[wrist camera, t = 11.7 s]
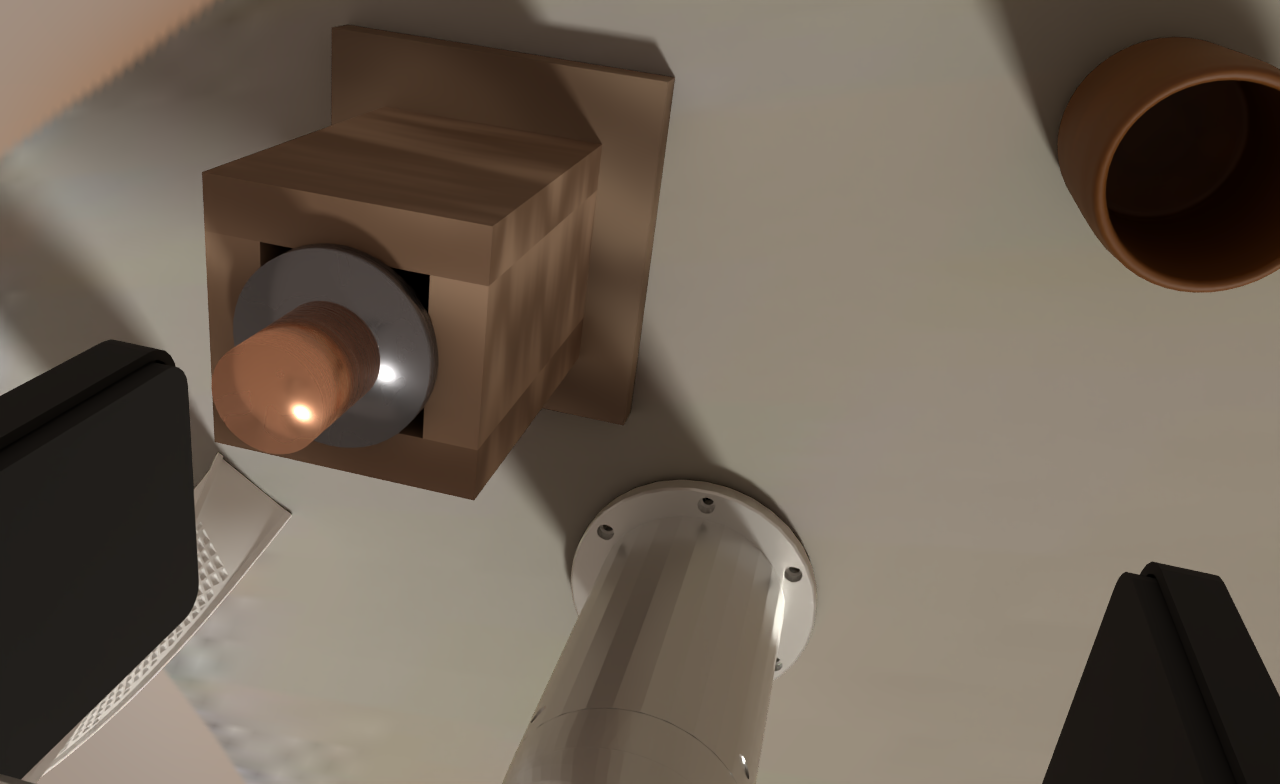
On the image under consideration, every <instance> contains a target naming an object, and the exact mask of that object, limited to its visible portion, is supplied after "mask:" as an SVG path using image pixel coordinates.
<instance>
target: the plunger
mask: <svg viewBox="0 0 1280 784" xmlns="http://www.w3.org/2000/svg"><path fill="white" fill-rule="evenodd" d="M429 286H430V275H428V274H423V273H417V272H412V271H406V272H405V273H404V274H402V275H401V276H399V275H398V274H397V273H396V272H395V271H394V270H393V269H392V268H390V267H389V266H387V265H386V264H384V263H383V262H382V261H380V260H378V259H377V258H375V257H373V256H371V255H369V254H367V253H365V252H362V251H360V250H357V249H355V248H351V247H347V246H343V245H338V244H330V243H317V244H309V245H303V246H300V247H297V248H294V249H291V250H289V251H287V252H285V253H283V254H281V255H279V256H277V257H276V258H274V259H272V260H270V261H268V262H267V263H266V264H264V265H263V266H261V267H260V268H259V269H258V270H257V271H256V272H255V273H254V274H253V275H252V276H251V277H250V278H249V280H248V281H247V283H246V284H245V285H244V287H243V289H242V291H241V293H240V295H239V298H238V301H237V304H236V307H235V313H234V319H233V338H234V346H235V347H234V348H232V349H231V350H229V351H228V352H227V353H225V354H224V355H223V356H222V357H221V359H220V360H219V361H218V363H217V365H216V367H215V369H214V373H213V377H212V395H213V400H214V403H215V406H216V409H217V411H218V413H219V415H220V417H221V419H222V420H223V422H224V423H225V424H226V426H227V427H228V428H229V430H230V431H231V432H232V433H233V434H234V435H235V436H237V437H238V438H239V439H240V440H241V441H243V442H244V443H246V444H247V445H249V446H251V447H253V448H255V449H257V450H260V451H263V452H266V453H271V454H290V453H294V452H297V451H299V450H301V449H303V448H305V447H306V446H307V445H309V444H310V443H311V442H312V441H313V440H314V441H316V442H319V443H322V444H326V445H330V446H336V447H344V448H357V447H366V446H371V445H375V444H378V443H381V442H383V441H386V440H388V439H390V438H391V437H393V436H395V435H396V434H398V433H399V432H400V431H401V430H403V429H404V428H405V427H406V426H407V425H408V424H409V423H410V422H411V421H412V420H413V419H414V418H415V417H416V416H417V415H418V414H419V413H420V411H421V410H422V409H423V408H424V406H425V405H426V403H427V401H428V400H429V398H430V396H431V393H432V391H433V389H434V386H435V382H436V378H437V372H438V347H437V341H436V336H435V333H434V329H433V325H432V323H431V321H430V318H429V316H428V313H427V311H426V310H425V308H424V306H423V305H424V304H425V303H426V302H427V301H429Z"/></svg>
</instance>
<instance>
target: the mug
mask: <svg viewBox="0 0 1280 784" xmlns="http://www.w3.org/2000/svg"><path fill="white" fill-rule="evenodd" d="M1057 150H1058V161H1059V165H1060V170H1061V174H1062V176H1063V179H1064V182H1065V184H1066V186H1067V188H1068V190H1069V192H1070V194H1071V195H1072V197H1073V199H1074V201H1075V202H1076V204H1077V206H1078V208H1079V209H1080V211H1081V213H1082V215H1083V216H1084V218H1085V219H1086V221H1087V223H1088V224H1089V226H1090V228H1091V229H1092V231H1093V232H1094V234H1095V235H1096V237H1097V238H1098V239H1099V240H1100V242H1101V243H1102V244H1103V246H1104V247H1105V248H1106V249H1107V250H1108V251H1109V252H1110V253H1111V254H1112V255H1113V256H1114V257H1115V258H1117V259H1118V260H1119V261H1120V262H1121V263H1122V264H1123V265H1124V266H1125V267H1126V268H1128V269H1129V270H1130V271H1132V272H1133V273H1135V274H1136V275H1137V276H1139V277H1141V278H1143V279H1145V280H1147V281H1149V282H1151V283H1153V284H1156V285H1159V286H1162V287H1164V288H1169V289H1173V290H1178V291H1185V292H1215V291H1223V290H1229V289H1233V288H1237V287H1241V286H1244V285H1247V284H1249V283H1252V282H1255V281H1258V280H1260V279H1262V278H1264V277H1266V276H1268V275H1270V274H1272V273H1273V272H1275V271H1277V270H1278V269H1280V69H1278V68H1276V67H1274V66H1272V65H1270V64H1268V63H1266V62H1263V61H1261V60H1258V59H1256V58H1253V57H1250V56H1248V55H1245V54H1243V53H1240V52H1237V51H1234V50H1231V49H1228V48H1225V47H1222V46H1220V45H1217V44H1214V43H1211V42H1208V41H1204V40H1199V39H1194V38H1184V37H1167V38H1158V39H1153V40H1148V41H1144V42H1141V43H1138V44H1135V45H1132V46H1130V47H1128V48H1126V49H1123V50H1121V51H1119V52H1118V53H1116V54H1114V55H1113V56H1111V57H1109V58H1108V59H1106V60H1105V61H1104V62H1102V63H1101V64H1100V65H1099V66H1097V67H1096V68H1095V69H1094V70H1093V71H1092V72H1091V73H1090V74H1089V75H1088V76H1087V77H1086V78H1085V79H1084V80H1083V82H1082V83H1081V84H1080V85H1079V86H1078V88H1077V89H1076V91H1075V92H1074V94H1073V96H1072V97H1071V99H1070V101H1069V103H1068V105H1067V107H1066V109H1065V111H1064V114H1063V117H1062V120H1061V123H1060V128H1059V133H1058V145H1057Z"/></svg>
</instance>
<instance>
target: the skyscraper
mask: <svg viewBox="0 0 1280 784" xmlns="http://www.w3.org/2000/svg"><path fill="white" fill-rule="evenodd" d="M194 504H195V522H196V539H197V557H198V574H199V590H198V594H197V598H196V601H195V604H194V606H193V608H192V610H191V612H190V613H189V615H188V616H187V617H186V618H185V620H184V621H183V622H182V623H181V624H180V625H179V626H178V627H177V628H176V629H175V630H174V631H173V632H172V633H170V634H169V635H168V636H167V637H166V638H165V639H164V640H163V641H162V642H161V643H160V644H159V645H158V646H157V647H156V648H155V649H154V650H153V651H152V652H151V653H150V654H149V655H148V656H147V657H146V658H145V659H144V660H143V661H142V662H141V663H140V664H139V665H138V666H137V667H136V668H135V669H134V670H133V671H132V672H131V673H130V674H128V675H127V676H126V677H125V678H124V679H123V680H122V681H121V682H120V683H119V684H118V685H117V686H116V687H115V688H114V689H113V690H112V691H111V692H110V693H109V694H108V695H107V696H106V697H105V698H104V699H103V700H102V701H101V702H100V703H99V704H98V705H97V706H96V707H95V708H94V709H93V710H92V711H91V712H90V713H89V714H88V715H86V716H85V717H84V718H83V719H82V720H81V721H80V722H79V723H78V724H77V725H76V726H75V727H74V728H73V729H72V730H71V731H70V732H69V733H68V734H67V735H66V736H65V737H64V738H63V739H62V740H61V741H60V742H59V743H58V744H57V745H56V746H55V747H54V748H53V749H52V750H51V751H50V752H49V753H48V754H47V755H46V756H45V757H43V758H42V759H41V760H40V761H39V762H38V763H37V764H36V765H35V766H34V767H33V768H32V769H31V770H30V771H29V772H28V773H27V774H26V775H25V776H24V777H23V778H22V779H21V780H24V781H27V782H31V783H35V784H36V783H37V782H38V781H39V779H40V778H41V777H42V776H43V775H44V774H46V773H47V772H48V771H50V770H51V769H52V768H53V767H55V766H56V765H57V764H59V763H60V762H61V761H62V760H64V759H65V758H66V757H68V756H69V755H70V754H71V753H72V752H74V751H75V750H76V749H77V748H78V747H80V746H81V745H82V744H83V743H84V742H85V741H87V740H88V739H89V738H90V737H91V736H93V735H94V734H95V733H96V732H97V731H98V730H100V729H101V728H102V727H103V726H104V725H105V724H106V723H107V722H108V721H109V720H110V719H111V718H112V717H113V716H115V715H116V714H117V713H118V712H119V711H120V710H121V709H122V708H123V707H124V706H125V705H127V704H128V703H129V702H130V701H131V700H132V699H133V698H134V697H135V696H136V695H137V694H138V693H139V692H140V691H141V690H142V689H143V688H144V687H145V686H146V685H147V684H148V683H149V682H150V681H151V680H152V679H153V678H154V677H155V676H156V675H157V674H158V673H159V672H160V671H161V670H162V669H163V667H164V666H165V665H166V664H167V663H168V662H169V661H170V660H171V659H172V658H173V657H174V656H175V655H176V654H177V653H178V652H179V650H180V649H181V648H182V647H183V646H184V645H185V644H186V643H187V642H188V641H189V639H190V638H191V637H192V636H193V635H194V634H195V633H196V632H197V630H198V629H199V628H200V627H201V626H202V625H203V624H204V622H205V621H206V620H207V619H208V618H209V617H210V616H211V615H212V613H213V612H214V611H215V610H216V609H217V607H218V606H219V605H220V604H221V603H222V601H223V600H224V599H225V598H226V597H227V596H228V594H229V593H230V592H231V591H232V590H233V588H234V587H235V586H236V585H237V584H238V582H239V581H240V580H241V579H242V578H243V576H244V575H245V574H246V573H247V571H248V570H249V569H250V568H251V566H252V565H253V564H254V563H255V561H256V560H257V559H258V558H259V556H260V555H261V554H262V553H263V551H264V550H265V549H266V548H267V546H268V545H269V544H270V543H271V542H272V540H273V539H274V538H275V537H276V535H277V534H278V533H279V532H280V530H281V529H282V528H283V527H284V525H285V524H286V523H287V522H288V520H289V519H290V518H291V516H292V514H290V513H289V512H288V511H286V510H285V509H283V508H282V507H281V506H280V505H278V504H277V503H276V502H275V501H274V500H272V499H271V498H270V497H269V496H268V495H266V494H265V493H264V492H263V491H261V490H260V489H259V488H258V487H257V486H255V485H254V484H253V483H252V482H250V481H249V480H248V479H247V478H246V477H244V476H243V475H242V474H241V473H239V472H238V471H237V470H236V469H235V468H233V467H232V466H231V465H230V464H228V463H227V462H226V461H225V460H224V459H223V455H221V454H220V453H219V452H218V453H217V455H216V456H215V458H214V461H213V463H212V465H211V468H210V470H209V471H208V472H207V474H206V475H205V476H204V478H203V479H202V480H201V481H200V483H199V484H198V485H197V486H196V488H195V489H194Z"/></svg>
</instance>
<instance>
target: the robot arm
mask: <svg viewBox="0 0 1280 784" xmlns="http://www.w3.org/2000/svg"><path fill="white" fill-rule="evenodd" d="M705 498H709V499H712V501H708V500H706V499H705ZM607 525H608V526H607ZM609 526H610V527H609ZM792 567H796V568H792ZM571 587H572V597H573V602H574V605H575V608H576V611H577V614H578V619H577V621H576V623H575V625H574V628H573V630H572V632H571V634H570V636H569V638H568V641H567V643H566V645H565V647H564V649H563V651H562V654H561V656H560V658H559V660H558V662H557V664H556V667H555V669H554V671H553V673H552V675H551V677H550V680H549V682H548V684H547V686H546V688H545V690H544V693H543V695H542V697H541V699H540V701H539V703H538V706H537V708H536V710H535V712H534V714H533V716H532V718H531V721H530V723H529V725H528V727H527V729H526V731H525V734H524V736H523V738H522V740H521V742H520V744H519V747H518V749H517V751H516V753H515V755H514V758H513V760H512V762H511V764H510V767H509V769H508V771H507V773H506V776H505V778H504V780H503V783H502V784H756V779H757V773H758V767H759V761H760V755H761V749H762V743H763V737H764V731H765V725H766V719H767V713H768V707H769V701H770V695H771V689H772V683H773V681H774V680H776V679H777V678H779V677H781V676H782V675H783V674H784V673H785V672H786V671H787V670H788V669H789V668H790V667H791V666H792V665H793V664H794V663H795V662H796V661H797V660H798V658H799V657H800V655H801V654H802V652H803V651H804V649H805V648H806V646H807V644H808V641H809V639H810V636H811V633H812V630H813V628H814V623H815V616H816V609H817V586H816V581H815V577H814V573H813V568H812V565H811V563H810V561H809V559H808V556H807V554H806V552H805V550H804V548H803V546H802V544H801V543H800V542H799V540H798V539H797V538H796V536H795V535H794V533H793V532H792V531H791V529H790V528H789V527H788V526H787V525H786V524H785V523H784V522H783V521H782V520H781V519H780V518H779V517H778V516H777V515H776V514H774V513H773V512H772V511H771V510H769V509H768V508H766V507H765V506H763V505H762V504H760V503H759V502H757V501H756V500H754V499H753V498H751V497H749V496H747V495H744V494H742V493H740V492H738V491H735V490H733V489H731V488H728V487H724V486H721V485H717V484H713V483H709V482H704V481H693V480H671V481H659V482H655V483H651V484H648V485H644V486H640V487H637V488H635V489H633V490H631V491H629V492H627V493H625V494H623V495H621V496H619V497H617V498H616V499H614V500H613V501H612V502H611V503H609V504H608V505H607V506H605V507H604V508H603V509H602V510H601V511H600V512H599V513H598V514H597V516H596V517H595V518H594V519H593V520H592V522H591V523H590V524H589V525H588V527H587V529H586V531H585V533H584V535H583V537H582V538H581V540H580V542H579V545H578V548H577V550H576V553H575V556H574V559H573V564H572V573H571ZM198 590H199V574H198V557H197V539H196V522H195V504H194V487H193V469H192V451H191V434H190V416H189V399H188V384H187V378H186V376H185V374H184V372H183V371H182V370H181V369H180V368H178V367H175V363H174V361H173V359H172V357H171V355H169V354H168V353H167V352H166V351H164V350H159V349H154V348H150V347H145V346H140V345H136V344H131V343H126V342H122V341H117V340H108V341H104V342H102V343H100V344H98V345H96V346H94V347H92V348H90V349H88V350H87V351H85V352H83V353H81V354H79V355H77V356H75V357H73V358H71V359H69V360H68V361H66V362H64V363H62V364H60V365H58V366H56V367H54V368H52V369H51V370H49V371H47V372H45V373H43V374H41V375H39V376H37V377H35V378H33V379H32V380H30V381H28V382H26V383H24V384H22V385H20V386H18V387H16V388H15V389H13V390H11V391H9V392H7V393H5V394H3V395H1V396H0V784H35V783H31V782H27V781H24V780H21V779H22V778H23V777H24V776H25V775H26V774H27V773H28V772H29V771H30V770H31V769H32V768H33V767H34V766H35V765H36V764H37V763H38V762H39V761H40V760H41V759H42V758H43V757H45V756H46V755H47V754H48V753H49V752H50V751H51V750H52V749H53V748H54V747H55V746H56V745H57V744H58V743H59V742H60V741H61V740H62V739H63V738H64V737H65V736H66V735H67V734H68V733H69V732H70V731H71V730H72V729H73V728H74V727H75V726H76V725H77V724H78V723H79V722H80V721H81V720H82V719H83V718H84V717H85V716H86V715H88V714H89V713H90V712H91V711H92V710H93V709H94V708H95V707H96V706H97V705H98V704H99V703H100V702H101V701H102V700H103V699H104V698H105V697H106V696H107V695H108V694H109V693H110V692H111V691H112V690H113V689H114V688H115V687H116V686H117V685H118V684H119V683H120V682H121V681H122V680H123V679H124V678H125V677H126V676H127V675H128V674H130V673H131V672H132V671H133V670H134V669H135V668H136V667H137V666H138V665H139V664H140V663H141V662H142V661H143V660H144V659H145V658H146V657H147V656H148V655H149V654H150V653H151V652H152V651H153V650H154V649H155V648H156V647H157V646H158V645H159V644H160V643H161V642H162V641H163V640H164V639H165V638H166V637H167V636H168V635H169V634H170V633H172V632H173V631H174V630H175V629H176V628H177V627H178V626H179V625H180V624H181V623H182V622H183V621H184V620H185V618H186V617H187V616H188V615H189V613H190V612H191V610H192V608H193V606H194V604H195V601H196V598H197V594H198ZM1042 784H1280V696H1279V694H1278V692H1277V690H1276V688H1275V686H1274V684H1273V682H1272V680H1271V678H1270V676H1269V674H1268V672H1267V670H1266V668H1265V666H1264V663H1263V661H1262V659H1261V657H1260V655H1259V653H1258V651H1257V649H1256V647H1255V645H1254V643H1253V641H1252V639H1251V637H1250V635H1249V633H1248V631H1247V629H1246V627H1245V625H1244V623H1243V621H1242V618H1241V616H1240V614H1239V612H1238V610H1237V608H1236V606H1235V604H1234V602H1233V600H1232V598H1231V596H1230V594H1229V592H1228V590H1227V588H1226V586H1225V584H1224V582H1223V581H1222V579H1221V578H1220V577H1219V576H1216V575H1212V574H1208V573H1203V572H1198V571H1194V570H1189V569H1184V568H1180V567H1175V566H1170V565H1166V564H1161V563H1156V562H1150V563H1149V564H1147V565H1146V566H1145V568H1144V569H1143V570H1142V572H1141V574H1140V575H1138V574H1133V573H1128V572H1125V573H1123V574H1122V575H1121V576H1120V578H1119V579H1118V581H1117V583H1116V585H1115V588H1114V590H1113V593H1112V596H1111V598H1110V601H1109V604H1108V607H1107V609H1106V612H1105V615H1104V617H1103V620H1102V623H1101V626H1100V628H1099V631H1098V634H1097V636H1096V639H1095V642H1094V645H1093V647H1092V650H1091V653H1090V655H1089V658H1088V661H1087V664H1086V666H1085V669H1084V672H1083V674H1082V677H1081V680H1080V683H1079V685H1078V688H1077V691H1076V693H1075V696H1074V699H1073V702H1072V704H1071V707H1070V710H1069V712H1068V715H1067V718H1066V721H1065V723H1064V726H1063V729H1062V731H1061V734H1060V737H1059V740H1058V742H1057V745H1056V748H1055V750H1054V753H1053V756H1052V759H1051V761H1050V764H1049V767H1048V769H1047V772H1046V775H1045V778H1044V780H1043V783H1042Z"/></svg>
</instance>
